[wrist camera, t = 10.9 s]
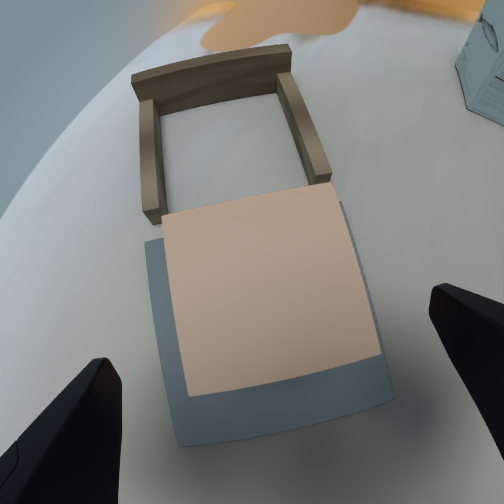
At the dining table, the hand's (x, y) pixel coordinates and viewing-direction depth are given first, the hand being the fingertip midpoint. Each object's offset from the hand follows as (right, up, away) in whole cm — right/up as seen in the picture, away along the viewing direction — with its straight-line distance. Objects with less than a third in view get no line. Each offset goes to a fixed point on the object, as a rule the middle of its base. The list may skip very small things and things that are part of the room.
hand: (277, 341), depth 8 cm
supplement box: (+23, +17, +15) cm, 32 cm away
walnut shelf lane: (-2, +10, +13) cm, 17 cm away
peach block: (0, -2, +9) cm, 9 cm away
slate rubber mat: (0, -2, +10) cm, 10 cm away
